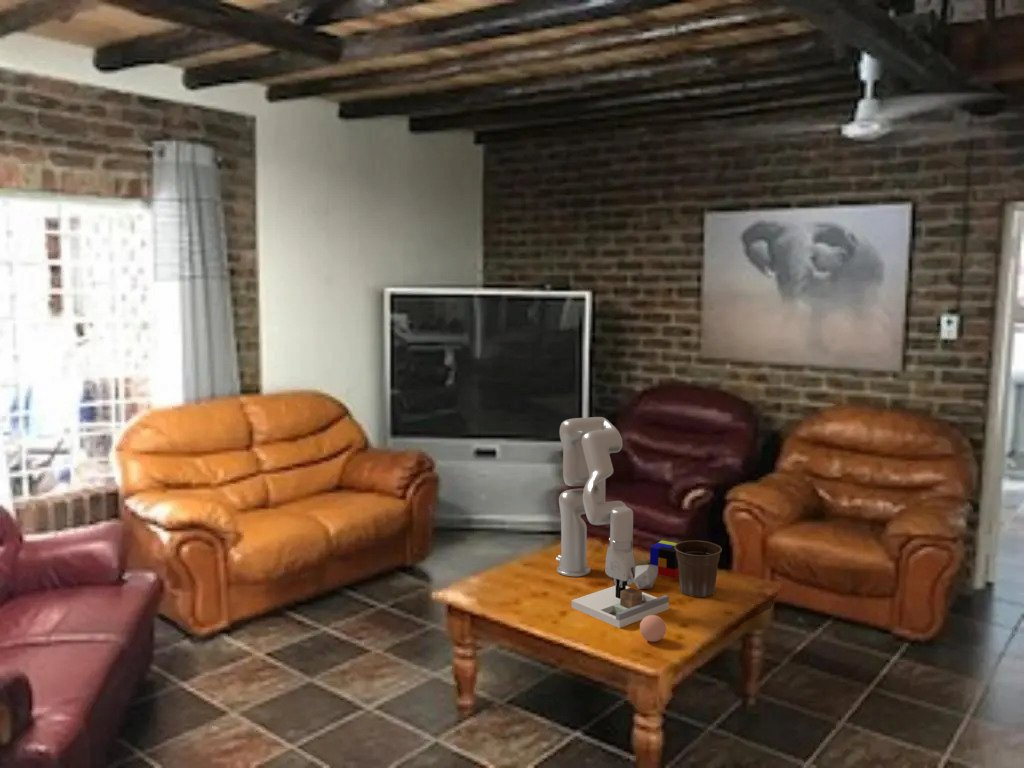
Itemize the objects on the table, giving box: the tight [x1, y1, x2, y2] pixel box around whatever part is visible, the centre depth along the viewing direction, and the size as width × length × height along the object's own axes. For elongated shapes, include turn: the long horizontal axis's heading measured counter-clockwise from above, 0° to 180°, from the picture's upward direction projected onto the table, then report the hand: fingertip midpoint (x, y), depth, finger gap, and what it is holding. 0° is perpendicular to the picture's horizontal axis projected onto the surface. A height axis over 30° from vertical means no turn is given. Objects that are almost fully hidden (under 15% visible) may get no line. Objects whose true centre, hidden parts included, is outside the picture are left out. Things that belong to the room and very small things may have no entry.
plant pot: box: [674, 540, 723, 598], centre depth 301 cm, size 16×16×16 cm
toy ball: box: [639, 614, 667, 643], centre depth 261 cm, size 8×8×8 cm
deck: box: [570, 585, 670, 629], centre depth 287 cm, size 22×24×4 cm
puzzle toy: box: [649, 540, 679, 579], centre depth 321 cm, size 10×10×10 cm
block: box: [620, 587, 643, 609], centre depth 282 cm, size 5×5×5 cm
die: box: [633, 564, 658, 590], centre depth 306 cm, size 8×9×10 cm
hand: (620, 597), depth 286 cm, fingers closed
